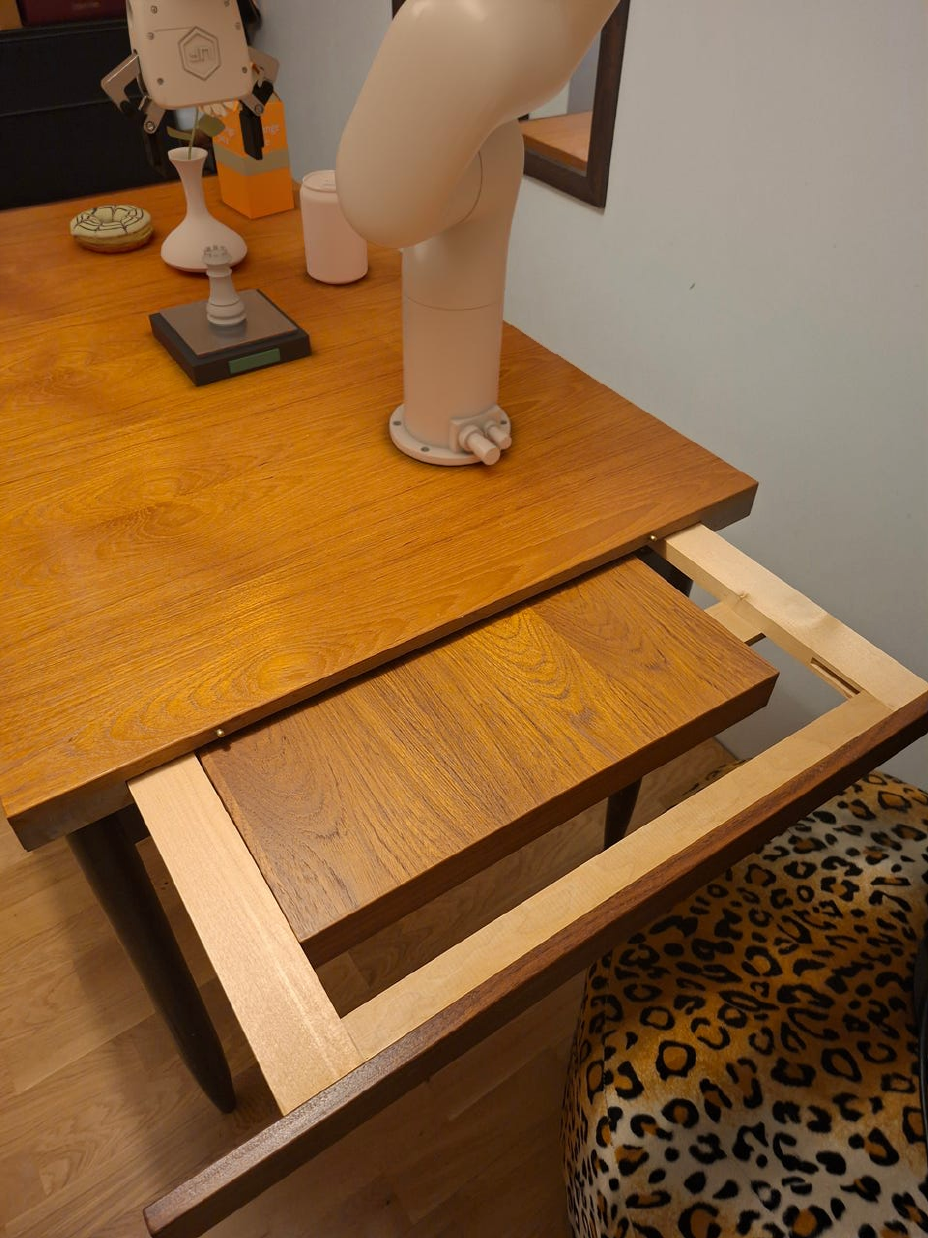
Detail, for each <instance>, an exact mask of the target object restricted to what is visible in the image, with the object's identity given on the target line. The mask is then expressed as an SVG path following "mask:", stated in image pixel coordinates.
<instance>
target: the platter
mask: <svg viewBox="0 0 928 1238" xmlns="http://www.w3.org/2000/svg"><path fill="white" fill-rule="evenodd" d="M235 292H236V294H237V295H238V296H239V299H240V300H241V301H242V302H243V304H244V309H243V310H244V311H245V312H246V317H245V318H244V320H243V321H242V322H241V323H239V324H238V325H234V326H229V327H221V326H217V325H214V324H213V323H212V322H211V321H210V320H208V319H207V314H208V312H207V311H206V306H207V303H208V302H209V300H208V298H206V299H202V300H197V301H194V302H190V303H185V304H180V305H176V306H173V307H168V308H164V309H160V310H158V313H159V316H160V317H161V318H162V319H163V320H164V321H165V323H166V324H167V325H168V326H169V327H170V328H171V329H172V330H173V332H174V333H175V334H176V335H177V336H178V337H179V338H180V340H181V341H182V342H183V343H184V344H185V345H186V346H187V347H188V349H189V350H190V351H191V352H192V353H193V354H194V355H195V357H196V358H197V359H198V360H199V359H203V358H206V357H210V356H214V355H218V354H222V353H225V352H229V351H233V350H237V349H240V348H244V347H248V346H252V345H256V344H259V343H263V342H267V341H271V340H274V339H278V338H282V337H286V336H290V335H293V334H297V328H296V327H295V326H294V325H293V324H292V323H291V322H290V321H289V320H288V319H286V318H285V317H284V316H283V315H282V314H281V313H280V312H279V311H278V310H277V309H276V308H274V307H273V306H272V305H271V304H270V303H269V302H268V301H267V300H266V299H265V298H264V297H263V296H261V295H260V294H259V293H258V292H257V291H256V289H255V288H254V287H253V288H248V289H243V290H241V291H235Z"/></svg>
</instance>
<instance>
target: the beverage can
mask: <svg viewBox="0 0 928 1238" xmlns="http://www.w3.org/2000/svg"><path fill="white" fill-rule="evenodd" d="M299 200H300V201H299V202H300V210H301V220H302V222H301V223H302V230H303V240H304V241H303V242H304V251H305V262H306V271H307V273H308V275H309V276H310V277H311V278H313V279H315V280H317V281H320V282H323V283H326V284H331V285H345V284H349V283H352V282H355V281H357V280H359V279H361V278H362V277H365V275H366V274H367V273H368V270H369V266H368V264H369V262H368V243H367V242H368V241H366V240H365V239H363V238H362V237H360V236H359V235H358V234H357V233H356V232H355V231H354V230H353V228H352V227H351V226H350V224H349V223H348V222H347V220H346V218H345V216H344V214H343V212H342V209H341V207H340V204H339V201H338V197H337V192H336V185H335V169H323V170H316V171H313V172H310V173H308V174H306V175H304V176H303V177H302V184H301V186H300V188H299Z"/></svg>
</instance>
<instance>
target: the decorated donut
mask: <svg viewBox="0 0 928 1238" xmlns="http://www.w3.org/2000/svg"><path fill="white" fill-rule="evenodd" d="M69 226H70V227H69V229H70V234H71V237H72V238H73V239H74V240H75V242H76V244H77V245H78V246H80V247H82V248H85V249H87V250H89V251H96V252H97V253H102V252H105V253H117V252H119V253H122V252H130V251H132V250H136V249H138V248H141V247H142V246H143V245H146V244H147V242H148V241H149V239H150V237H151V235H152V234H153V230H154V222H153V221H152V218H151V213H149V212H148V211H147V210H145V209H143V208H141V207H138V206H135V205H129V204H107V205H101V206H100V205H99V206H96V207H92V208H90V209H88V210H85V211H82V212H81V213H79V214H77V215H76V216H75V217H74V218H72V219H71V220H70V222H69Z"/></svg>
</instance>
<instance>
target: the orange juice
mask: <svg viewBox="0 0 928 1238" xmlns="http://www.w3.org/2000/svg"><path fill="white" fill-rule="evenodd" d="M250 63H251V69H252V76H253V87H254V85H255V83H256V82H257V80H258V79H259V76H260V75H259V74H260V68H259V66H258V65H256V64H254V63H252V62H250ZM233 106H234V108H233V109H232V110H231V109H228V108H227V107H226V106H225V107H226V109H227V111H228V114H227V117H226V118H224V117H222V118H219V119H220V120H221V121H222V122H223V123H224V124H225V126H226V127H225V129H224V130H223V131H222V132H221V133H220V134H219V135H217V136H215V137H211V138H212V147H213V153H214V159H215V163H216V170H217V175H218V182H219V187H220V194H221V201H222V203H224V204H225V205H227V206H229V207H231V209H234V210H235V211H237V212H238V213H240V214H241V215H243V216H245V217H247V218H249V219H250V220H255V219H258V218H263V217H266V216H270V215H274V214H278V213H282V212H285V211H290V210H293V209H295V202H294V193H293V185H292V184H293V183H292V174H291V173H292V172H291V161H290V151H289V145H288V144H289V143H288V136H287V125H286V117H285V116H286V115H285V107H284V101H282V100H281V98H280V97H279V95H278V94H277V92H276V91H275V90H274V91H273V93H272V95H271V97H270V98H269V100H268V102H267V103H266V105H265V107H264V113H263V115H261V123H262V130H263V137H264V148H262V155H263V159H262V160H256V159H254V158H252V157H251V156H249V155H248V154H246V153H245V151H244V145H243V139H242V132H241V126H240V119H239V113H240V110H242V105H241V104H240V103H239V102H238V101H237V100H236V102H235V103H233ZM215 117H217V116H216V115H215ZM217 118H218V117H217Z"/></svg>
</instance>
